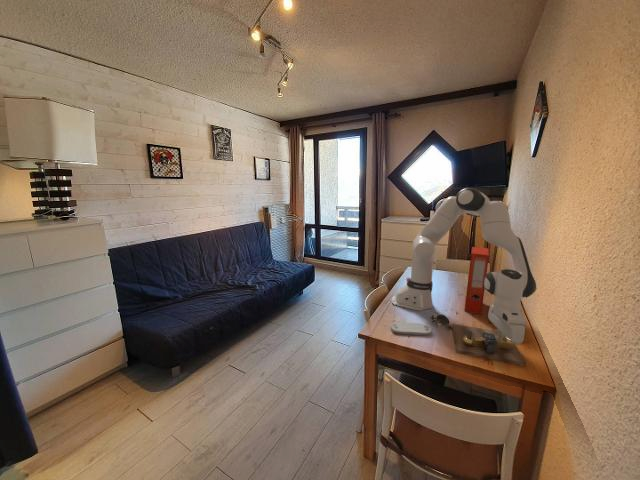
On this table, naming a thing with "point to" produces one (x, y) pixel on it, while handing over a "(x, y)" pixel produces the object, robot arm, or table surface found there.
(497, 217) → the robot arm
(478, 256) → the file binder
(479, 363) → the table surface
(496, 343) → the keeper hook
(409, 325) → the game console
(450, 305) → the table surface
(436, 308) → the table surface
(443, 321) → the eagle figurine
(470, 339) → the brass link
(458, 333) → the walnut base plate
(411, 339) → the table surface
